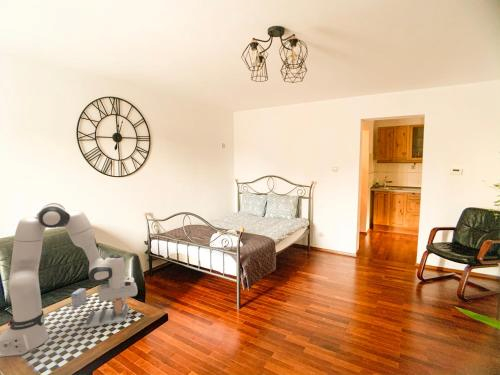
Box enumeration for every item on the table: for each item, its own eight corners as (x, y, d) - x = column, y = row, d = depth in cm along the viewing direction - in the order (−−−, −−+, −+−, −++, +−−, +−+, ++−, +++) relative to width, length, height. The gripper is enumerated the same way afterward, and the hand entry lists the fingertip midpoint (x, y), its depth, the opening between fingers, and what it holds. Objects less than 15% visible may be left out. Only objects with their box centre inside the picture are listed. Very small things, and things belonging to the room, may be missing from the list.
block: (115, 313, 152) (114, 301, 151) (118, 306, 159) (117, 295, 159) (121, 312, 153) (120, 300, 152) (123, 305, 160) (122, 294, 159)
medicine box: (80, 300, 174) (79, 288, 173) (87, 300, 174) (85, 288, 173) (71, 307, 166) (70, 294, 165) (78, 307, 166) (77, 294, 165)
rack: (85, 328, 145) (84, 321, 144) (92, 314, 158) (91, 307, 158) (125, 320, 151) (125, 313, 150) (129, 307, 164) (128, 301, 164)
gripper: (95, 287, 148) (98, 311, 150) (135, 281, 154) (137, 304, 156) (98, 282, 154) (100, 305, 156) (136, 277, 160) (138, 299, 162)
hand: (119, 305), depth 156 cm, fingers closed on block, 3 cm apart
